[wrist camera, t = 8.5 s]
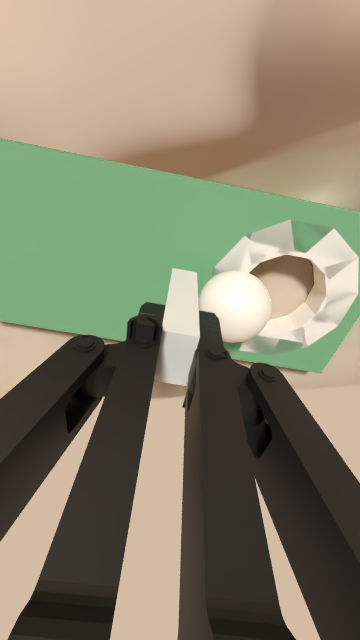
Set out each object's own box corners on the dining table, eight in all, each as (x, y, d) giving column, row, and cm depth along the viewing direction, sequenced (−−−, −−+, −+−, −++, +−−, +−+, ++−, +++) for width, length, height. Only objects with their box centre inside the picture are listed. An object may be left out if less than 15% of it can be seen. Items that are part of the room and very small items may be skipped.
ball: (266, 264, 16) (200, 255, 16) (297, 295, 13) (214, 285, 12) (245, 320, 19) (188, 314, 18) (267, 360, 15) (195, 354, 14)
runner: (-54, 127, 15) (-87, 122, 13) (395, 218, 16) (418, 225, 14) (-8, 304, 21) (-25, 317, 19) (311, 357, 23) (321, 373, 21)
